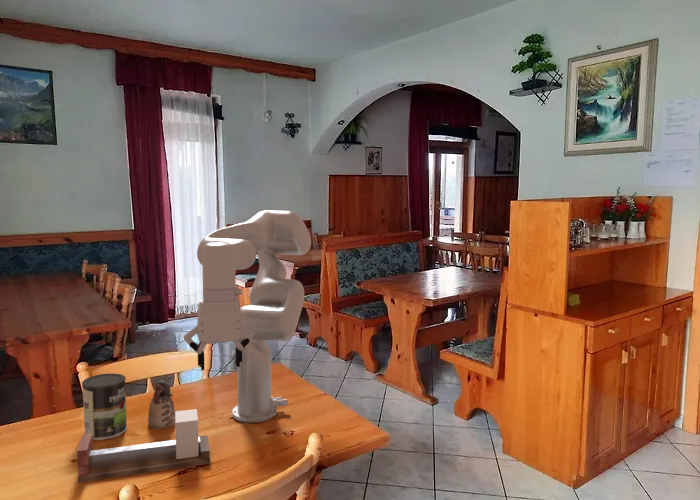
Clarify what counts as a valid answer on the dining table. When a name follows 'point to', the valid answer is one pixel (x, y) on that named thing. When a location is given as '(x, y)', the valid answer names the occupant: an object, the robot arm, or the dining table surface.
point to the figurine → (161, 407)
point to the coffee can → (104, 406)
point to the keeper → (186, 433)
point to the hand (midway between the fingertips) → (220, 366)
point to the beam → (133, 453)
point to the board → (136, 467)
